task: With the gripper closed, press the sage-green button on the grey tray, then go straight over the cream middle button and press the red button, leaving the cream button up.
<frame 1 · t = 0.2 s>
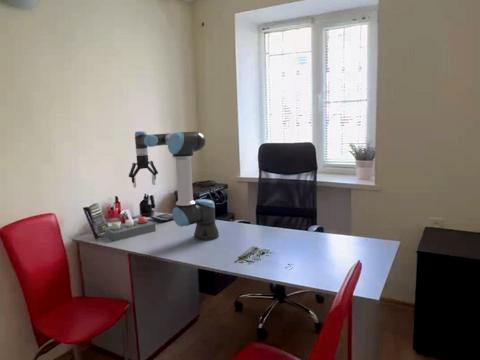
hand: (144, 186, 254), 28 cm above the table, fingers open, 13 cm apart
model: (269, 260, 193), on the table
grey tray: (130, 233, 243), on the table
button red: (142, 220, 248), point 6 cm above the table, slide at 0.0 cm
button cream: (129, 223, 242), point 6 cm above the table, slide at 0.0 cm
button sage: (116, 226, 236), point 6 cm above the table, slide at 0.0 cm
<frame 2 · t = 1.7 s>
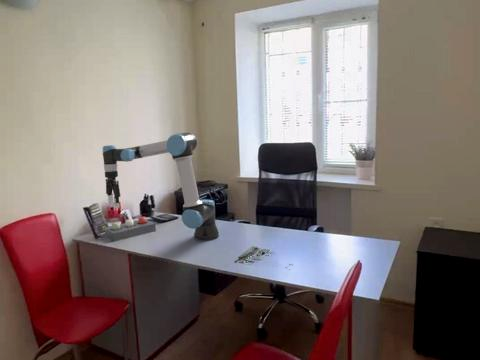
hand: (114, 206, 234), 19 cm above the table, fingers open, 8 cm apart
nothing on the table moved.
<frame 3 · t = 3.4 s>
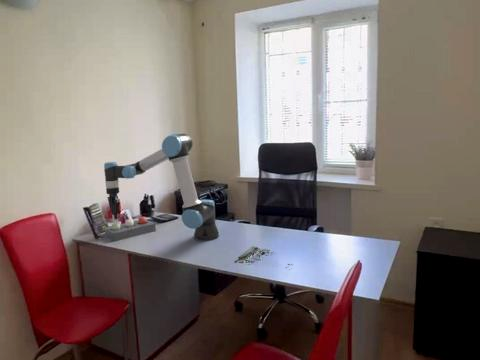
hand: (115, 223, 236), 8 cm above the table, fingers closed
button sage: (116, 227, 236), point 6 cm above the table, slide at 0.6 cm, touching gripper
everything else where it was.
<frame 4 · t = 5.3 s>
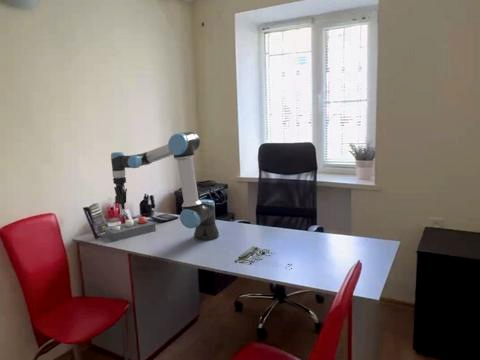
hand: (122, 213, 238), 14 cm above the table, fingers closed
button sage: (116, 230, 236), point 4 cm above the table, slide at 2.2 cm
everything else where it was.
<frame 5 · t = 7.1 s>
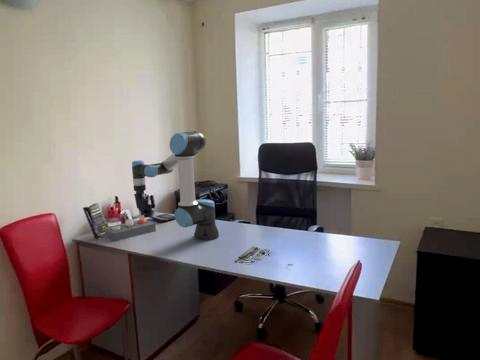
hand: (142, 219, 248), 7 cm above the table, fingers closed
button red: (142, 223, 248), point 5 cm above the table, slide at 1.5 cm, touching gripper
everything else where it was.
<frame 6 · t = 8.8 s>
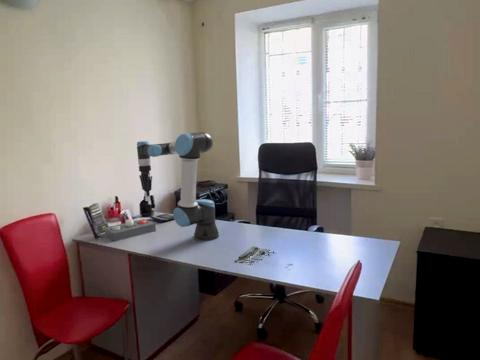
hand: (147, 200, 247), 19 cm above the table, fingers closed
button red: (142, 224, 248), point 4 cm above the table, slide at 2.2 cm
everything else where it was.
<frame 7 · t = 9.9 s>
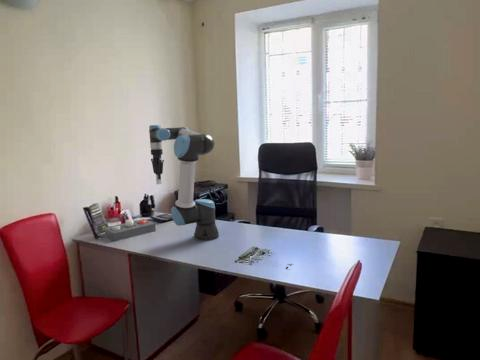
hand: (158, 184, 251), 29 cm above the table, fingers closed
nothing on the table moved.
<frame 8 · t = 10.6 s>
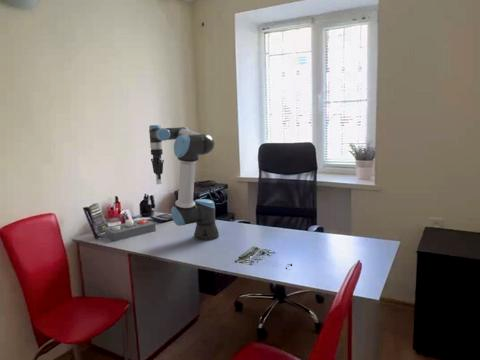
hand: (158, 184, 251), 29 cm above the table, fingers closed
nothing on the table moved.
at the end: button sage slide at 2.2 cm; button red slide at 2.2 cm; button cream slide at 0.0 cm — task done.
